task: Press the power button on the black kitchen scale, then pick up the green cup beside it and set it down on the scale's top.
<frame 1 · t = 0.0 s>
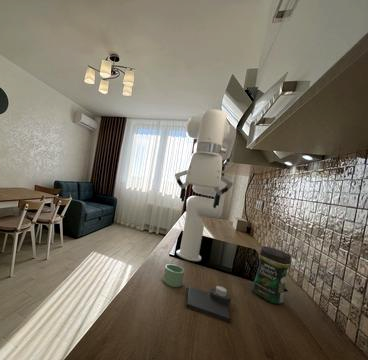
hand: (198, 204, 68), 31 cm above the kitchen counter, tool pointing down, fingers open, 9 cm apart
coffee jar: (266, 297, 81), on the kitchen counter
power button: (221, 291, 71), point 4 cm above the kitchen counter, slide at 0.1 cm
green cup: (172, 282, 79), on the kitchen counter
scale: (206, 304, 69), on the kitchen counter
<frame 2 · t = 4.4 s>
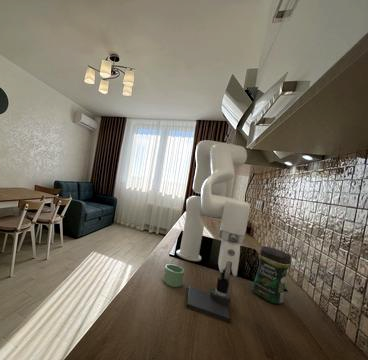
hand: (221, 291, 71), 4 cm above the kitchen counter, tool pointing down, fingers closed
power button: (220, 294, 71), point 3 cm above the kitchen counter, slide at -0.7 cm, touching gripper
everything else where it was.
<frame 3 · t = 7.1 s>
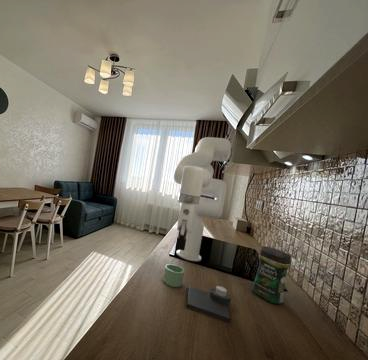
hand: (179, 248, 79), 13 cm above the kitchen counter, tool pointing down, fingers closed
power button: (221, 291, 71), point 4 cm above the kitchen counter, slide at 0.1 cm
everything else where it was.
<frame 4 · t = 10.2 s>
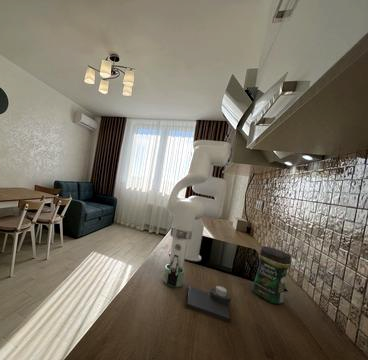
hand: (172, 280, 79), 1 cm above the kitchen counter, tool pointing down, fingers closed on green cup, 7 cm apart
green cup: (172, 282, 79), on the kitchen counter, touching gripper
everything else where it was.
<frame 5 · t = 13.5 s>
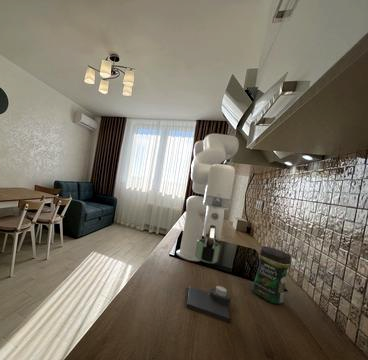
hand: (206, 256, 69), 15 cm above the kitchen counter, tool pointing down, fingers closed on green cup, 7 cm apart
green cup: (205, 259, 69), point 14 cm above the kitchen counter, touching gripper
everything else where it was.
when the fingers open (2 cm above the kitchen counter, at t = 16.9 s): green cup stays where it is, resting on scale.
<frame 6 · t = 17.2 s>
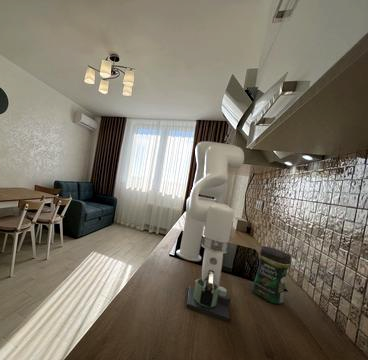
hand: (204, 296, 68), 3 cm above the kitchen counter, tool pointing down, fingers open, 9 cm apart
green cup: (204, 301, 68), point 1 cm above the kitchen counter, touching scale
everything else where it was.
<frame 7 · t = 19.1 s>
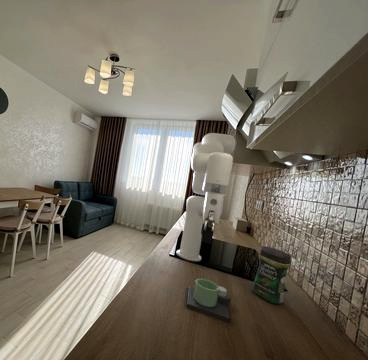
hand: (205, 238, 73), 20 cm above the kitchen counter, tool pointing down, fingers open, 9 cm apart
nothing on the kitchen counter moved.
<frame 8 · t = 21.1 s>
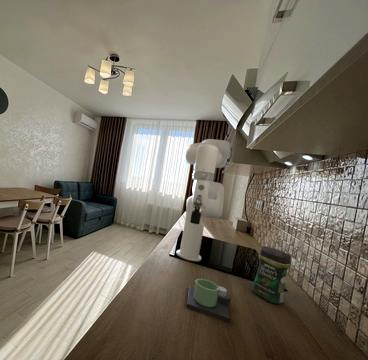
hand: (194, 221, 82), 23 cm above the kitchen counter, tool pointing down, fingers open, 9 cm apart
nothing on the kitchen counter moved.
at the end: power button pushed in 1.1 cm at the most during the clip and back out by the end; green cup inside the target area on the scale (0.8 cm from its centre), point 1.2 cm above the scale's base; green cup tilted 0° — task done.
